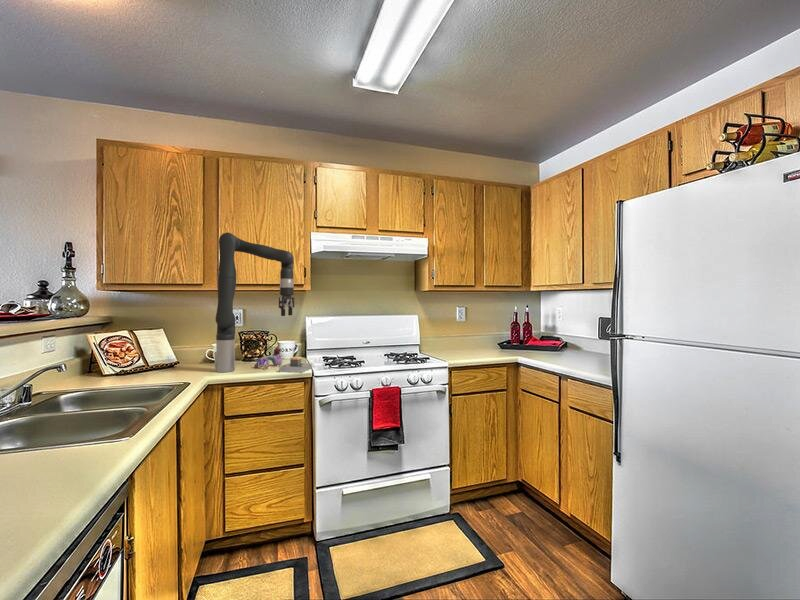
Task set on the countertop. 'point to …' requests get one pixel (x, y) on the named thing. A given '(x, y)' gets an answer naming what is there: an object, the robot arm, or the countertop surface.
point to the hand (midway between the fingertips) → (286, 315)
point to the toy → (275, 359)
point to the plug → (295, 361)
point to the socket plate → (295, 368)
